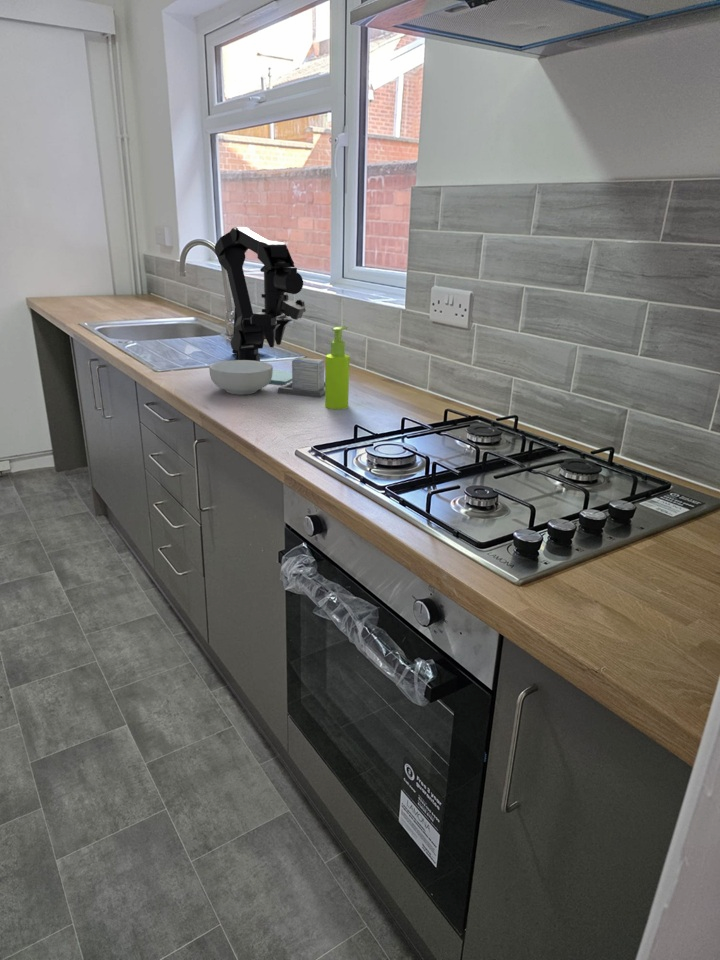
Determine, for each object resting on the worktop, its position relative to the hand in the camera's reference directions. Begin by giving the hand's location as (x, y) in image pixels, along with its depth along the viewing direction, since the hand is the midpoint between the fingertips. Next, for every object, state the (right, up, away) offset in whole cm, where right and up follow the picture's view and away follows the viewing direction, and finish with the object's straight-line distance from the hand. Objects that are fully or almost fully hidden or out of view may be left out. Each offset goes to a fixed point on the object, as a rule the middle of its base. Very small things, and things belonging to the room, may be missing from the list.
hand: (275, 345), depth 188 cm
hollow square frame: (+10, -14, -8) cm, 19 cm away
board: (0, -9, +4) cm, 10 cm away
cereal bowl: (-8, -15, -11) cm, 20 cm away
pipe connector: (-14, +5, +36) cm, 39 cm away
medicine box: (+10, -14, -8) cm, 19 cm away
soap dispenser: (+19, -20, -22) cm, 35 cm away
